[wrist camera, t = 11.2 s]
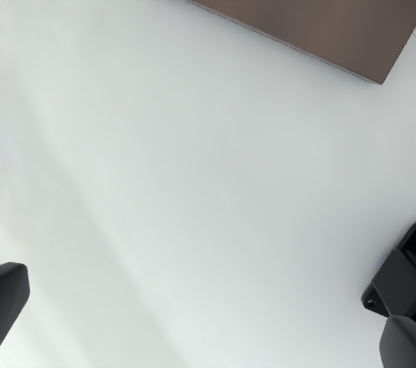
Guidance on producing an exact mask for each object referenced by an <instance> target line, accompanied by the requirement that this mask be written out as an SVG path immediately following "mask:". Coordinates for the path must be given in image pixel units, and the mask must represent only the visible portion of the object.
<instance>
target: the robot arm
mask: <svg viewBox="0 0 416 368" xmlns="http://www.w3.org/2000/svg"><path fill="white" fill-rule="evenodd" d="M29 295H30V287H29V278H28V270H27V267H26V265H24V264H21V263H14V262H8V263H5V264H2V265H0V345H1V344H2V342H3V340H4V339H5V337H6V335H7V334H8V332H9V330H10V329H11V327H12V325H13V324H14V322H15V320H16V319H17V317H18V315H19V314H20V312H21V311H22V309H23V307H24V306H25V304H26V302H27V300H28V298H29ZM369 300H373V301H372V302H370V303H369V302H368V301H369ZM361 301H362V303H363V305H364V307H365V308H366V309H368V310H371V311H373V312H375V313H378V314H380V315H383V316H385V317H387V318H388V319H387V321H386V324H385V328H384V331H383V334H382V337H381V340H380V355H381V359H382V363H383V367H384V368H416V224H414V225H413V226H412V227H411V229H410V230H409V231H408V233H407V234H406V236H405V237H404V239H403V240H402V241H401V243H400V244H399V246H398V247H397V248H396V249H395V250H394V251H393V252H392V253H391V254H390V256H389V257H388V259H387V260H386V261H385V263H384V264H383V266H382V267H381V268H380V270H379V271H378V273H377V274H376V275H375V277H374V278H373V280H372V283H371V285H370V286H369V288H368V289H367V290H366V292H365V293H364V295H363V296H362V298H361Z"/></svg>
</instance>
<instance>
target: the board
mask: <svg viewBox="0 0 416 368" xmlns="http://www.w3.org/2000/svg"><path fill="white" fill-rule="evenodd" d="M185 1H187V2H190V3H192V4H194V5H196V6H199V7H201V8H203V9H205V10H208V11H210V12H212V13H214V14H217V15H219V16H221V17H223V18H226V19H228V20H230V21H232V22H235V23H237V24H239V25H241V26H244V27H246V28H248V29H251V30H253V31H255V32H257V33H260V34H262V35H264V36H266V37H269V38H271V39H273V40H275V41H278V42H280V43H282V44H284V45H287V46H289V47H291V48H293V49H296V50H298V51H300V52H302V53H305V54H307V55H309V56H312V57H314V58H316V59H318V60H321V61H323V62H325V63H327V64H330V65H332V66H334V67H336V68H339V69H341V70H343V71H345V72H348V73H350V74H352V75H354V76H357V77H359V78H361V79H363V80H366V81H368V82H370V83H374V84H380V85H382V84H383V82H384V81H385V79H386V77H387V75H388V74H389V72H390V70H391V69H392V67H393V65H394V63H395V62H396V60H397V58H398V56H399V55H400V53H401V51H402V49H403V48H404V46H405V44H406V43H407V41H408V39H409V37H410V36H411V34H412V32H413V30H414V29H415V27H416V0H185Z"/></svg>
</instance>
